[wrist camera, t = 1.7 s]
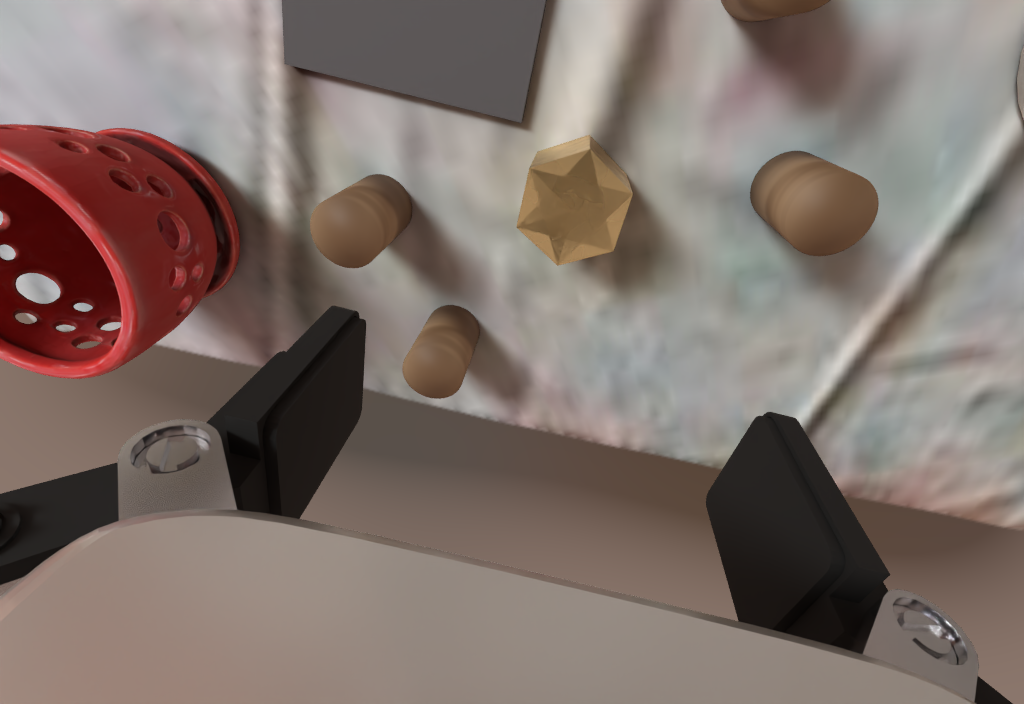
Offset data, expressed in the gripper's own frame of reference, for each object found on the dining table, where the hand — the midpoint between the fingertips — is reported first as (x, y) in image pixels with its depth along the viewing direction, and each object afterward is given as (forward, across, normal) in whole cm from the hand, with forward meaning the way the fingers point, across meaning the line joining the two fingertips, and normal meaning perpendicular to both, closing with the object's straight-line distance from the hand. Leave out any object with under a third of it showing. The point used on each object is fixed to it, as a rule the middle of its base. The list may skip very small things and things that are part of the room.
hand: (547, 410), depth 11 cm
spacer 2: (+22, +6, +12) cm, 26 cm away
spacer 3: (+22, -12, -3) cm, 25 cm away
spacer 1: (+22, +12, +4) cm, 25 cm away
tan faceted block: (+22, 0, 0) cm, 22 cm away
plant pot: (+22, +27, +8) cm, 36 cm away
